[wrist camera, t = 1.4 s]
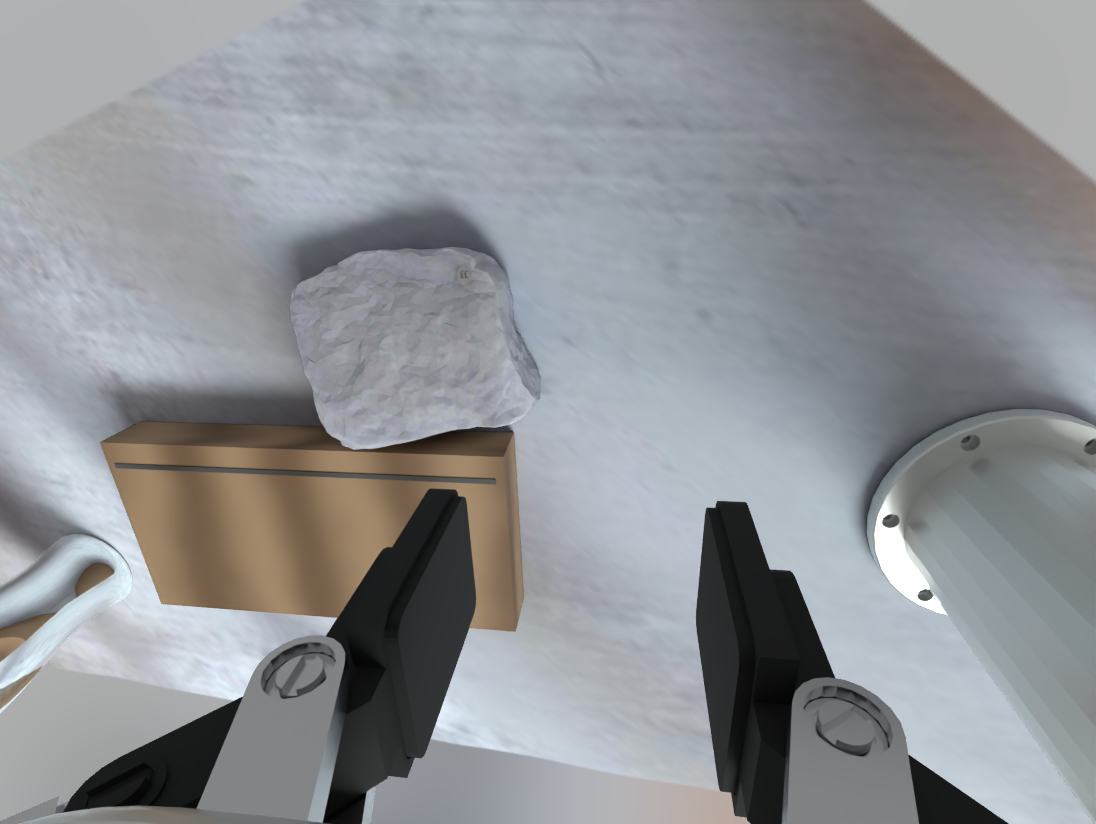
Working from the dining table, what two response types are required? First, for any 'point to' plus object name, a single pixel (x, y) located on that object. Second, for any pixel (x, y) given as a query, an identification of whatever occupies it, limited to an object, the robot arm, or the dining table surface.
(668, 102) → the dining table surface
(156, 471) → the brown wooden board
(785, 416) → the dining table surface
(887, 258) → the dining table surface
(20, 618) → the beer glass
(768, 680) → the robot arm
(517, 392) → the stone block
